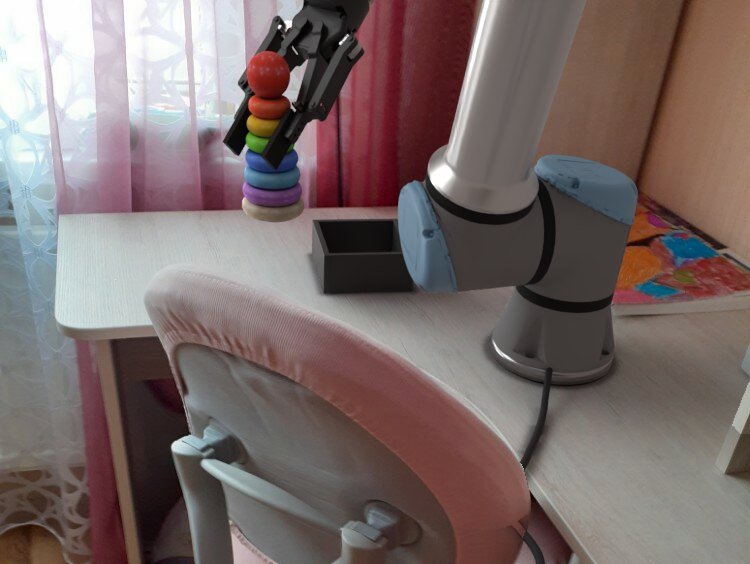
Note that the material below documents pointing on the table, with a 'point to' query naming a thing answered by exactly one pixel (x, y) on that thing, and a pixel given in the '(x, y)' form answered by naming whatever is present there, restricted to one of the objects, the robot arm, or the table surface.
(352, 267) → the box
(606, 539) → the table surface
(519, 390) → the table surface
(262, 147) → the stacking toy
